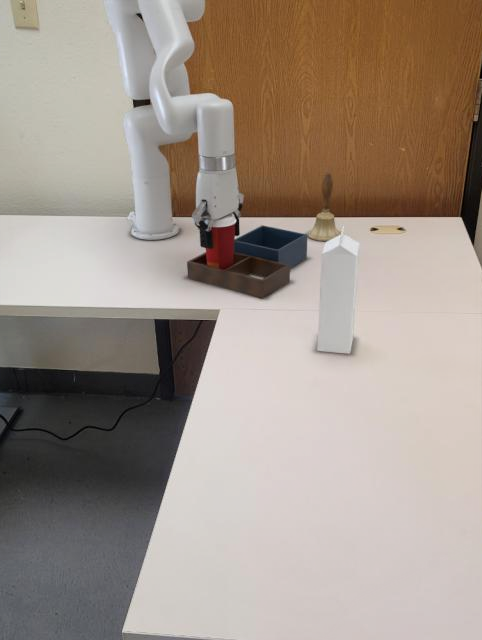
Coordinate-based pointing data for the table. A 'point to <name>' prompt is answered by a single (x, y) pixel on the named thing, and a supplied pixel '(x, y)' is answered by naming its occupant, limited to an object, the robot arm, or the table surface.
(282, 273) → the wooden divided tray
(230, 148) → the robot arm
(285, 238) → the blue square tray
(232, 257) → the paper cup
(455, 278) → the table surface
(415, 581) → the table surface
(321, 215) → the hand bell
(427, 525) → the table surface
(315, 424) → the table surface
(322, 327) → the milk
